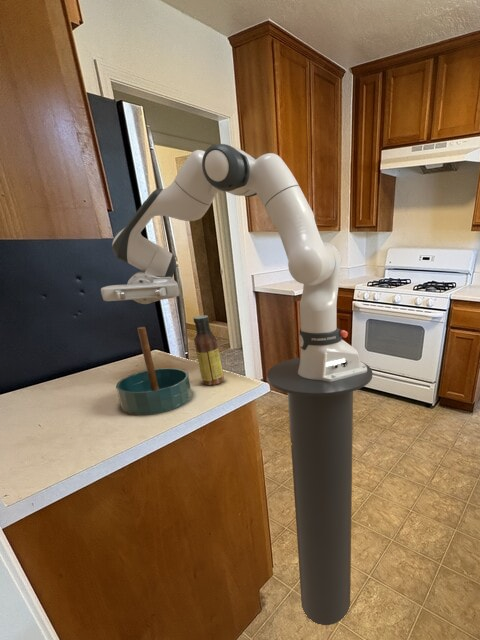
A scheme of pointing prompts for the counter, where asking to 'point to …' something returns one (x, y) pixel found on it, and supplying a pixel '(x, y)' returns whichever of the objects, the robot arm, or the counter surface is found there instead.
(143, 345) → the wooden dowel stand
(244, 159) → the robot arm
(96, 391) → the counter surface
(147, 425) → the counter surface
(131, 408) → the bowl
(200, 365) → the sauce bottle
